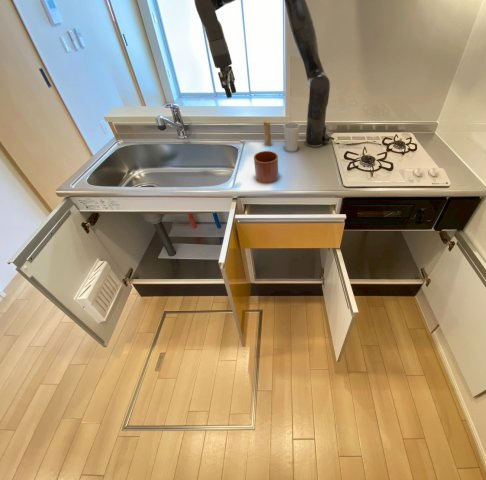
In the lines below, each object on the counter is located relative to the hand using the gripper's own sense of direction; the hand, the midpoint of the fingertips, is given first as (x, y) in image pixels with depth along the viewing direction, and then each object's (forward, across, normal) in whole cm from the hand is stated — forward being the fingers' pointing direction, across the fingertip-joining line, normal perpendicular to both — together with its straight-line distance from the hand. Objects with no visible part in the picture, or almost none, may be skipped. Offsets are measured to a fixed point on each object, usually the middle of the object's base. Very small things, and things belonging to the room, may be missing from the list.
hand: (232, 95), depth 122 cm
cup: (+30, +2, -23) cm, 38 cm away
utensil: (+27, +5, -10) cm, 29 cm away
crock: (+30, -26, -14) cm, 42 cm away
